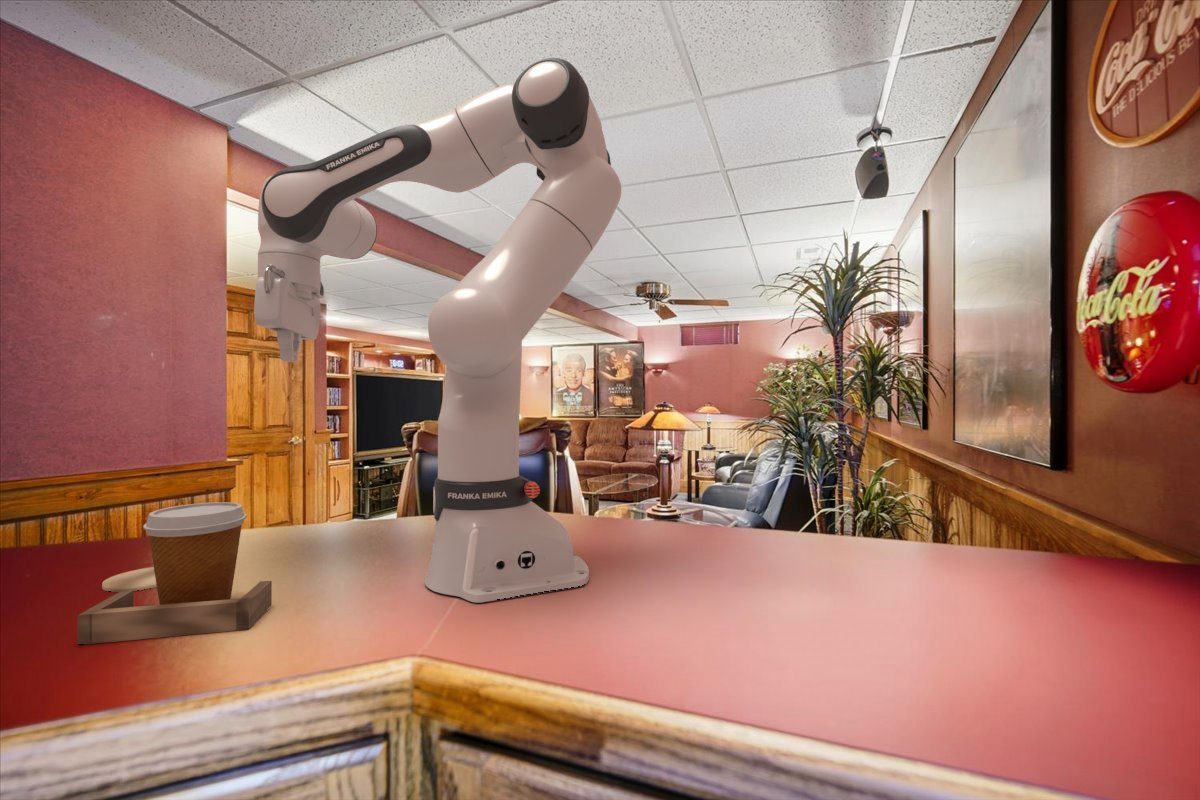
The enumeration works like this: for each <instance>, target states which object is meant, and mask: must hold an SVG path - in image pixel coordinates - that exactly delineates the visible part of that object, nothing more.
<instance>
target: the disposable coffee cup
mask: <svg viewBox="0 0 1200 800" xmlns="http://www.w3.org/2000/svg"><path fill="white" fill-rule="evenodd" d="M246 518H247V514H246V513H245V512H244V509H243V505H242V504H241V503H239V502H227V501H225V502H224V501H223V502H220V501H219V502H217V501H216V502H214V501H213V502H201V503H192V504H191V503H189V504H182V505H175V506H170V507H169V506H168V507H164V508H161V509H157V510H153V511H151V512H150V513H148V516H147V521H146V522H145V523H144V524H143V530H145V532H146V535H148V538H149V544H150V545H149V546H150V550H151V558H152V559H151V560H152V564H153V567H154V572H155V578H156V584H157V587H156V591H157V596H158V601H159V602H158V603H159V604H158V605H164V604H177V603H190V602H203V601H216V600H228V599H232V592H233V587H234V586H233V585H234V580H235V571H236V564H237V559H238V553H239V546H240V539H241V532H242V525H243V524H244V522H245V519H246Z"/></svg>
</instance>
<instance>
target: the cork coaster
mask: <svg viewBox="0 0 1200 800" xmlns="http://www.w3.org/2000/svg"><path fill="white" fill-rule="evenodd" d="M150 588H151V589H155V588H156V589H157V584H156V578H155V572H154V566H150V567H144V568H143V567H142V568H139V569H134V570H129V571H125V572H121V573H118V574H115V575H113V576H110V577H108V578H106V579H105V580H103V581H102V585H101V589H102V590H103V591H105V592H108V591H111V592H110V593H119V592H121V591H133V592H136V591H137V590H139V591H142V590H143V591H145V590H151V589H150ZM144 589H145V590H144ZM137 592H138V591H137Z"/></svg>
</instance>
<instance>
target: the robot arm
mask: <svg viewBox="0 0 1200 800" xmlns="http://www.w3.org/2000/svg"><path fill="white" fill-rule="evenodd" d="M606 145H607V144H606V139H605V136H604V132H603V126H602V122H601V119H600V116H599V114H598V111H597V109H596V107H595V105H594V102H593V100H592V99H591V97H590V92H589V88H588V86H587V84H586V82H585V80H584V78H583V76H582V75H581V74H580V72H579V71H578V70H577V68H576V67H575V66H574V65H573V64H572V63H571V62H570V61H567V60H565V59H562V58H558V57H549V58H543V59H541V60H537V61H535V62H533V63H531V64H530V65H529V66H526V68H525V69H524V70H523V71H522V72H521V73H520V74H518V77H517V78H516V80H515V82H514V83H508V84H504V85H501V86H498V87H495V88H493V89H489V90H487V91H484V92H482V93H480V94H477V95H475V96H474V97H472V98H469V99H467V100H466V101H464V102H462V103H460V104H459V105H456V106H455V107H454V108H452V109H451V110H449V111H447V112H445V113H443V114H441V115H439V116H436V117H433V118H431V119H429V120H425V121H423V122H420V123H415V124H404V125H398V126H395V127H391V128H389V129H387V130H383V131H381V132H379V133H377V134H374V135H372V136H370V137H367V138H365V139H363V140H360V141H359V142H357V143H354V144H352V145H350V146H349V147H348V146H347V147H345V148H343V149H341V150H339V151H337V152H335V153H333V154H330V155H329V156H326V157H324V158H321V159H320V160H317V161H314V162H310V163H305V164H299V165H291V166H288V167H284V168H283V169H280V170H278V171H277V172H275V173H274V174H273V175H270V176H269V177H267V178H266V179H265V180H264V182H263V184H262V187H261V190H260V195H259V198H258V199H259V200H258V211H257V212H258V213H257V230H258V233H259V236H260V246H259V249H258V251H257V280H256V283H255V292H254V301H253V302H254V303H253V305H254V307H253V318H254V321H255V325H257V326H260V327H263V328H265V329H268V330H270V331H273V332H276V339H277V344H278V348H279V352H280V353H279V357H280V358H279V359H280V361H282V362H287V363H297V362H298V360H299V351H300V348H301V344H302V341H303V340H304V341H315V340H317V338H318V335H319V331H320V323H321V322H320V321H321V320H320V319H321V310H322V309H321V308H322V307H321V300H320V299H324V296H325V287H324V285H323V282H322V280H321V278H322V277H321V258H322V257H323V256H330V257H333V258H338V259H339V258H340V259H344V260H345V259H346V260H356V259H361V258H362V257H364V256H366V255H367V254H368V253H369V252H370V251H371V250H372V248H373V247H374V246H375V243H376V239H377V235H378V228H377V227H378V226H377V222H376V219H375V217H374V216H373V214H372V212H371V211H370V210H368V209H367V208H366V207H365V206H363V205H362V204H360V203H359V202H357V201H356V200H357V199H358V198H360V197H362V196H365V195H366V194H368V193H371V192H374V191H375V190H377V189H380V188H381V187H384V186H385V185H388V184H391V183H392V184H393V183H398V182H412V183H418V184H424V185H427V186H431V187H434V188H437V189H440V190H442V191H446V192H449V193H450V192H451V193H464V192H467V191H471V190H474V189H475V188H479V187H480V186H482V185H485V184H486V183H488V182H490V181H491V180H493V179H494V178H495V177H498V176H500V175H502V174H503V173H504V172H506V171H508V170H509V169H511V168H513V167H514V166H517V165H519V164H523V163H525V164H530V165H533V166H534V167H536V176H537V177H538V178H539V179H540V180H541V181H542V182H541V184H540V186H539V187H538V188H537V189H536V191H535V192H534V193H533V194H532V196H531V197H530V199H529V200H528V201H527V202H526V204H525V206H524V207H523V208H522V210H521V211H520V212H519V213H518V215H517V216H516V217H515V219H514V220H513V221H512V223H511V224H510V226H509V228H507V230H506V231H505V233H504V234H503V235H502V237H501V238H500V239H499V241H498V242H497V243H496V244H495V246H493V248H492V249H491V250H490V251H489V252H488V253H487V254H486V255H485V256H484V257H483V258H482V259H481V260H480V261H479V262H478V263H476V265H475V266H474V267H472V269H471V270H470V271H469V272H468V273H466V275H465V276H464V277H463V278H462V279H461V280H460V281H459V282H458V283H457V284H456V285H455V286H454V288H452V290H451V291H448V292H447V293H446V294H445V295H443V296H441V297H440V298H439V299H438V300H437V302H435V304H434V306H433V307H432V309H431V310H430V313H429V317H428V323H427V331H428V338H429V342H430V344H431V348H432V350H433V352H434V354H435V355H436V357H437V358H438V359H439V361H440V362H441V363H442V364H444V365H445V366H446V367H445V378H444V386H443V393H442V394H443V395H442V400H441V401H442V402H441V406H440V412H439V415H438V419H437V476H436V477H435V480H434V485H433V490H432V491H433V495H432V498H433V500H432V501H433V502H432V504H433V506H432V510H433V511H432V512H433V516H434V520H435V529H434V536H433V544H432V548H431V556H430V560H429V564H428V567H427V572H426V575H425V578H424V581H423V582H424V585H425V586H426V587H427V589H429V590H431V591H433V592H436V593H439V594H443V595H447V596H453V597H454V596H455V597H459V598H462V599H464V600H466V601H468V602H472V603H476V604H478V603H485V602H493V601H498V600H497V599H500V600H505V599H504V598H506V599H511V598H510V597H512V598H515V597H514V596H518V597H521V596H520V595H524V596H526V595H525V594H531V595H534V594H533V593H537V594H539V593H538V592H543V593H545V592H544V591H549V592H551V591H550V590H556V589H562V590H565V589H564V588H568V589H572V588H571V587H574V588H578V586H580V587H583V586H582V585H584V584H585V585H586V584H588V582H589V581H590V569H589V566H588V565H587V563H586V562H585V560H583V559H582V558H581V557H580V556H578V555H576V554H574V549H573V543H572V540H571V537H570V534H569V531H567V529H566V528H565V526H564V525H563V524H562V523H561V522H559V521H558V520H557V519H556V518H555V517H553V515H551V514H549V513H548V512H547V511H546V510H544V509H543V508H542V507H540V506H539V505H538V504H536V503H535V502H533V499H535V498H537V497H538V495H540V491H541V489H540V486H539V484H538V483H537V482H535V481H532V480H530V479H528V478H526V477H525V476H522V475H520V458H519V457H520V410H521V387H522V385H521V384H522V356H523V355H522V351H523V349H522V348H523V340H524V339H525V338H526V336H527V335H528V334H529V332H531V330H532V329H533V327H535V325H536V323H537V322H538V321H539V320H540V319H541V317H542V316H543V315H544V314H545V313H546V312H547V310H548V309H549V308H550V307H551V306H552V304H553V303H554V302H555V301H556V300H557V299H558V298H559V297H560V296H561V295H562V293H563V292H564V290H565V289H566V288H567V286H568V285H569V283H570V282H571V281H572V279H573V278H574V276H575V275H576V274H577V272H578V270H579V269H580V268H581V266H582V265H583V264H584V262H585V261H586V259H587V258H588V257H589V255H590V254H591V252H592V251H593V250H594V248H595V247H596V245H597V244H598V242H599V241H600V239H601V238H602V236H603V234H604V233H605V231H606V229H607V227H608V226H609V224H610V222H611V220H612V218H613V216H614V214H615V211H616V210H617V207H618V205H619V202H620V201H621V198H622V184H621V180H620V177H619V176H618V174H617V173H616V171H615V169H614V168H613V167H612V164H611V156H610V153H609V151H608V149H607V146H606ZM585 585H584V586H585ZM556 591H557V590H556Z"/></svg>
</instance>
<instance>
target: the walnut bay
mask: <svg viewBox="0 0 1200 800" xmlns="http://www.w3.org/2000/svg"><path fill="white" fill-rule="evenodd" d="M272 582H273V581H272V580H262V581H261V580H259V582H258V583H257V584H256V585H255V586H253V587H252V588H251V589H250V590H249V591H248V592H247V593H245V594H244V595H243V596H241V598H233V599H232V598H231V599H228V600H216V601H203V602H190V603H177V604H164V605H160V604H155V605H154V604H152V605H142V606H141V605H140V606H139V605H138V606H134V591H121V592H116V594H114V595H112V596H109V597H108V598H106V599H104V600H102V601H101V602H99V603H97V604H95V605H94V606H92V607H90V608H88V609H86V610H85V611H82V612H81V613H79V614H78V615H77V644H84V645H93V644H103V643H115V642H125V641H128V642H129V641H136V640H146V639H147V640H148V639H158V638H169V637H181V636H182V637H183V636H191V635H201V634H202V635H203V634H213V633H222V632H223V633H224V632H235V631H244V630H246V631H247V630H250V629H251V628H252V627H253V626H254V625H255V623H257V621H258V620H260V618H261V617H262V616H263V615H264V614H265V613H266V612H267V611H268V610H269V609H270V608H271V607H272V606H271V605H272V601H273V600H272V597H273V596H272V592H273V591H272V590H273V589H272V584H273V583H272ZM270 606H271V607H270ZM269 607H270V608H269ZM268 608H269V609H268ZM267 609H268V610H267Z"/></svg>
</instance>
